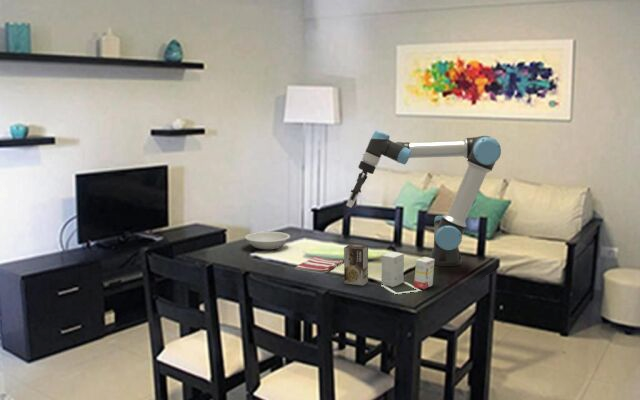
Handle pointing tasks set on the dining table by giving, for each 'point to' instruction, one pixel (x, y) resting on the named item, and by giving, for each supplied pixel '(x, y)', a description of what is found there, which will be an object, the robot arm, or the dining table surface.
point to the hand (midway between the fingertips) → (349, 205)
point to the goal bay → (402, 292)
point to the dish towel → (318, 265)
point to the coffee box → (356, 264)
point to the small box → (392, 269)
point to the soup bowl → (267, 239)
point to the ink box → (424, 272)
